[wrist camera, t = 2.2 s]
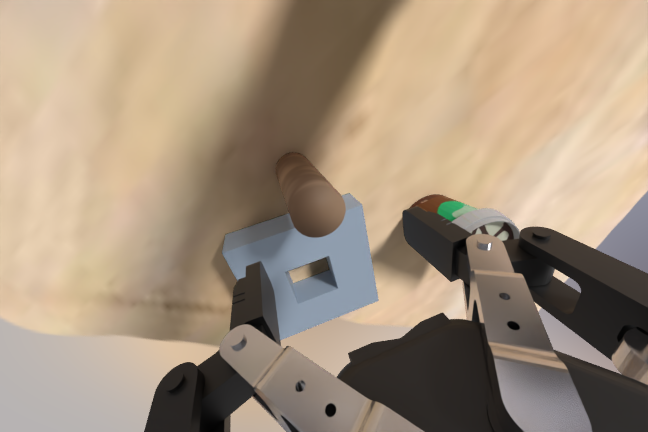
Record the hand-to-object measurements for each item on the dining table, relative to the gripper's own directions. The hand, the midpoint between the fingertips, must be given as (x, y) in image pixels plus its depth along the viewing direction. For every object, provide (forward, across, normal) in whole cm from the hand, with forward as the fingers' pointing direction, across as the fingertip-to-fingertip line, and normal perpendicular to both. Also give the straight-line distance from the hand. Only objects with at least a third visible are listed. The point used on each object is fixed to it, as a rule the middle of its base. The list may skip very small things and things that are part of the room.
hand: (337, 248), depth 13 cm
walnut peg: (+17, 0, 0) cm, 17 cm away
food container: (+17, -19, +12) cm, 28 cm away
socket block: (+17, +2, +13) cm, 21 cm away
